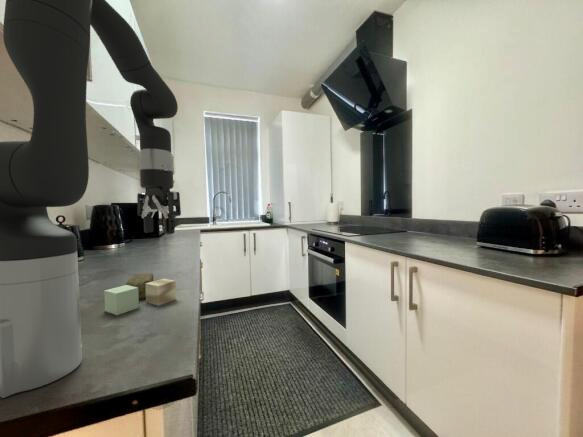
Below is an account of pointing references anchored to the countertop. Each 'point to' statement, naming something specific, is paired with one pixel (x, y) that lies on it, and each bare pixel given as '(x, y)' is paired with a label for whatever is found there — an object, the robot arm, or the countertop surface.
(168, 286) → the birch cube
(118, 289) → the sage cube
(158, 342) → the countertop surface
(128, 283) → the stone block
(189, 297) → the countertop surface
